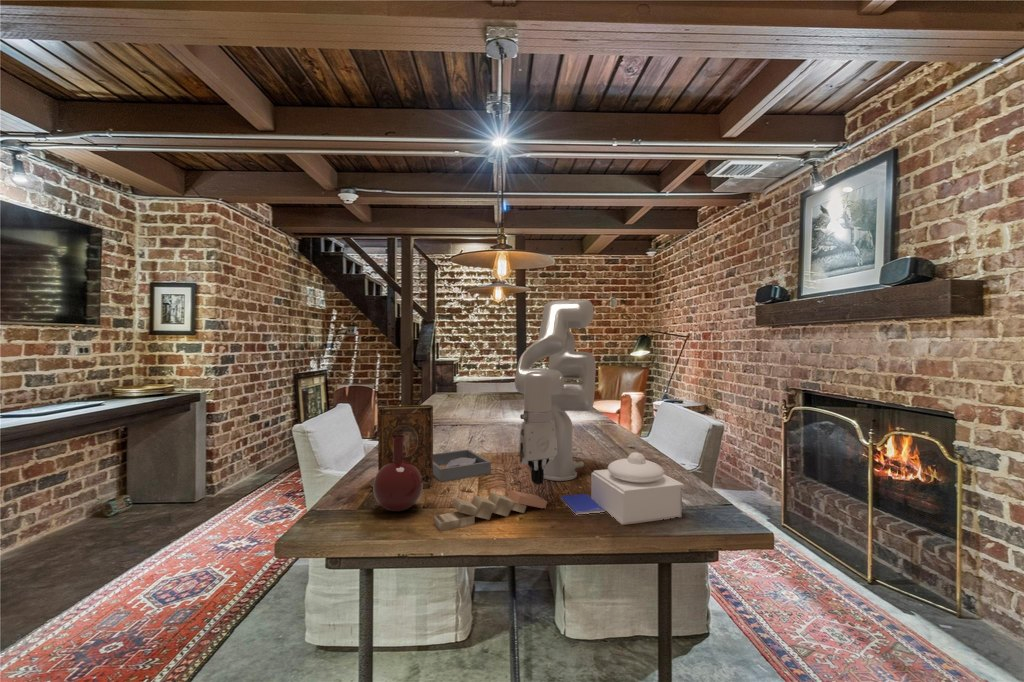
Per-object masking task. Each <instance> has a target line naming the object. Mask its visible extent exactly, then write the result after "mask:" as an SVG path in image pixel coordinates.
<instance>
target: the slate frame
mask: <svg viewBox="0 0 1024 682" xmlns="http://www.w3.org/2000/svg"><path fill="white" fill-rule="evenodd" d="M458 458H472V459H475V458H476V463H475V464H468V465H461V466H455V467H448V468H446V467H444V468H443V467H442V466H441V465H443V466H444V465H447V464H448V463H449V462H450V461H451V460H453V459H458ZM485 474H486V475H491V474H492V462H491V461H490V460H489V459H486V458H485V457H483V456H481V455H479V454H478V453H476V452H475V451H472V450H471V449H461V450H455V451H445V452H440V453H439V452H438V453H433V478H435V479H436V480H437V481H439V482H441V483H442V481H443V482H447V481H448V482H449V481H453V480H454V481H455V480H460V478H461V479H466V478H465V477H468V478H472V477H471V476H474V477H478V476H477V475H480V476H484V475H485Z"/></svg>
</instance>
